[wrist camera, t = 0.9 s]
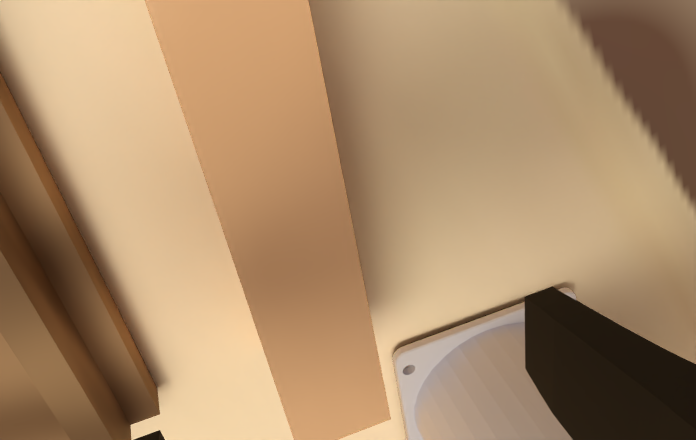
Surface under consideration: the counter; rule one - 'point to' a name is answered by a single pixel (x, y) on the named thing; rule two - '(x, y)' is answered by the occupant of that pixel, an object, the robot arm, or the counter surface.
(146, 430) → the counter surface
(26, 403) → the drying rack
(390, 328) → the counter surface
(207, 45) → the clay bar
